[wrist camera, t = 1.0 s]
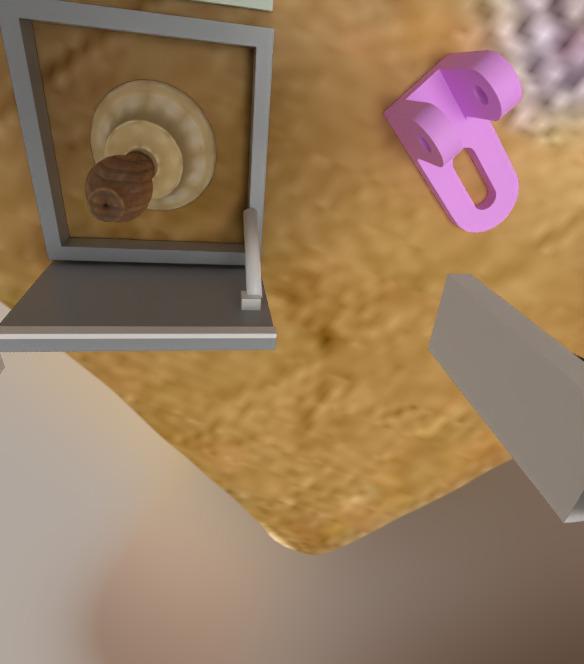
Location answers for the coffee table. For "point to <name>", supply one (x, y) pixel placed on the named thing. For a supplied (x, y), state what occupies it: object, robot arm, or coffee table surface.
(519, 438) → the robot arm
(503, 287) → the coffee table surface
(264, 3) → the pad
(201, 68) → the coffee table surface
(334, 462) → the coffee table surface
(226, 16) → the coffee table surface
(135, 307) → the hatch
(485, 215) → the bracket
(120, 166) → the hand bell
